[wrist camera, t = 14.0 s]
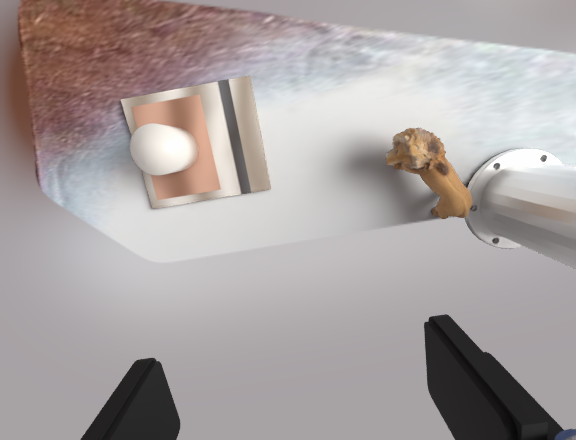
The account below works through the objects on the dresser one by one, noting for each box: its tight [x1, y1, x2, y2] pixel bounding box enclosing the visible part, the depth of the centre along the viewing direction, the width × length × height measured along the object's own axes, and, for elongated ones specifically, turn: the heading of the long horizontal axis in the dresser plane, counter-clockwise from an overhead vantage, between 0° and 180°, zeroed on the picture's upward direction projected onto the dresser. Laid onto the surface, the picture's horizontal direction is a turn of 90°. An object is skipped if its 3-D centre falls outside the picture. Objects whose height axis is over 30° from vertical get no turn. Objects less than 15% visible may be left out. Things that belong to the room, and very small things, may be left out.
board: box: [121, 76, 271, 209], centre depth 35 cm, size 15×13×1 cm
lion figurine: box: [386, 128, 472, 219], centre depth 32 cm, size 15×5×9 cm, turn 51°
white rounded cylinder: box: [130, 123, 199, 175], centre depth 32 cm, size 5×5×6 cm
